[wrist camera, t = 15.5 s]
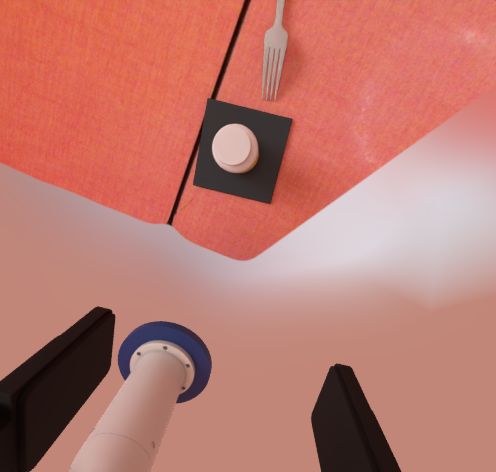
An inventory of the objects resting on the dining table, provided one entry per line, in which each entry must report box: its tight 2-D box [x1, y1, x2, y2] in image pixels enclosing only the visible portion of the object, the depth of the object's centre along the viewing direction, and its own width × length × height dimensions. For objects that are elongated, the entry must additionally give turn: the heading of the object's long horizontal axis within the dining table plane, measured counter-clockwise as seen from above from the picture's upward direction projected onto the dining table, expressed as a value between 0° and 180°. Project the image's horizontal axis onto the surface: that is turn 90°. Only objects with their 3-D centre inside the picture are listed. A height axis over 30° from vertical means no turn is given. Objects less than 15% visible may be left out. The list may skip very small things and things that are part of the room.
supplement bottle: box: [212, 124, 259, 173], centre depth 29 cm, size 5×5×10 cm
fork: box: [262, 0, 288, 101], centre depth 29 cm, size 3×21×3 cm, turn 173°
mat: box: [193, 98, 292, 204], centre depth 34 cm, size 12×12×1 cm
